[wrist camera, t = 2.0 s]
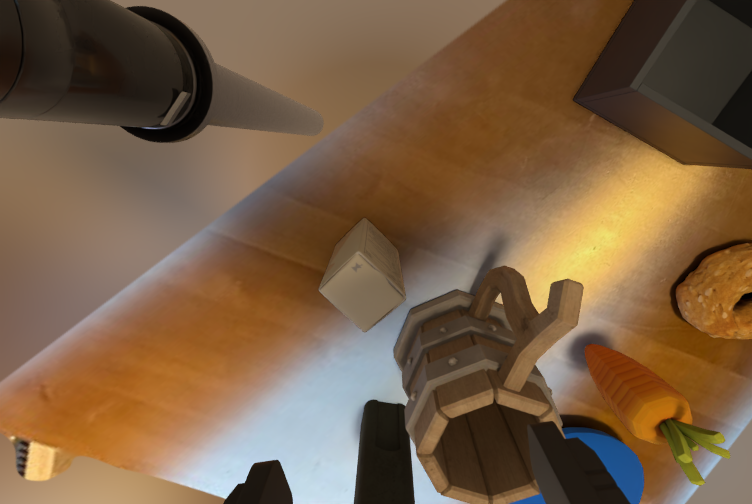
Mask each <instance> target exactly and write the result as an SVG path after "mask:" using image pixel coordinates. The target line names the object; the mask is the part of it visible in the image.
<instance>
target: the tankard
mask: <svg viewBox="0 0 752 504" xmlns="http://www.w3.org/2000/svg"><path fill="white" fill-rule="evenodd" d="M583 288H584V287H583V285H582V284H581V283H579V282H576V281H573V280H570V279H565V280H561V281H557V282H554V283H552V284H551V287H550V293H549V299H548V305H547V308H546V309H545V310H544V311H543V312H541V313H540V314H539V313H538V312H537V310H536V309H535V307H534V306H533V304H532V302H531V299H530V295H529V292H528V289H527V285H526V282H525V279H524V277H523V276H522V275H521V274H520V273H518V272H517V271H516V270H515V269H513V268H510V267H507V266H501V267H498V268H494V269H491V270H489V271H488V273H487V275H486V276H485V278H484V280H483V282H482V284H481V285H480V287H479V289H478V291H477V293H476V296H473V295H470V294H467V293H464V292H462V291H459V290H456V291H453V292H451V293H449V294H446V295H444V296H441V297H439V298H437V299H434V300H432V301H430V302H427V303H425V304H422V305H420V306H418V307H415V308H413V309H411V310H410V312H409V314H408V317H407V319H406V322H405V324H404V326H403V329H402V331H401V334H400V336H399V338H398V341H397V343H396V346H395V348H394V358H395V360H396V362H397V364H398V366H399V368H400V370H401V371H402V383H403V389H404V391H405V393H406V394H407V396H408V398H409V400H408V403H407V405H406V407H405V409H404V412H405V427H406V430H407V432H408V434H409V435H410V437H411V439H412V441H413V442H414V444H415V446H416V453H417V457H418V459H419V461H420V462H421V464H422V466H423V468H424V469H425V471H426V473H427V475H428V476H429V478H430V480H431V482H432V484H433V485H434V487H435V489H436V491H437V492H439V493H441V495H443V496H446V497H450V498H453V499H457V500H460V501H463V502H467V503H470V504H489V503H490V504H509V503H512V502H516V501H519V500H522V499H525V498H528V497H531V496H535V495H538V494H540V490H539V487H538V485H537V482H536V479H535V476H534V473H533V470H532V465H531V459H530V450H529V440H528V431H527V425H528V424H533V423H540V422H546V421H553V422H554V423H555V424H556V425H557V427H558V429H559V430H560V432H561V434H562V435H563V437H564V439H566V438H565V436H564V433H563V431H562V429H561V426H562V425H563V423H562V421H561V419H560V416H559V414H558V411H557V409H556V406H555V404H554V401H553V399H552V397H551V395H552V390H551V389H550V388H549V387H547V384H546V382H545V379H544V377H543V376H542V374H541V373H540V371H539V370H538V368H537V367H536V365H535V363H536V362H537V360H538V359H539V358H540V357H541V356H542V355H543V354H544V353H545V352H546V351H547V350H548V349H549V348H550V347H551V346H552V345H553V344H554V343H555V342H557V341H558V340H559V339H561V338H562V337H563V336H564V335H566V334H567V333H568V332H569V331H571V330H572V329H573V328H574V327H576V326H577V324H578V318H579V312H580V306H581V300H582V294H583ZM500 292H501V296H502V300H503V305H504V306H503V305H500V304H497V303H494V302H495V299H496V298H497V296H498V295H499V294H500Z"/></svg>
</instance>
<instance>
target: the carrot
mask: <svg viewBox="0 0 752 504" xmlns="http://www.w3.org/2000/svg"><path fill="white" fill-rule="evenodd" d="M585 358H586V361H587V365H588V368H589V371H590V374H591V376H592V378H593V380H594V382H595V384H596V386H597V388H598V390H599V391H600V393H601V395H602V396H603V398H604V400H605V401H606V402H607V404H608V405H609V406H610V408H611V409H612V410H613V412H614V413H615V414H616V415H617V417H618V418H619V419H620V420H621V422H622V423H623V424H624V425H625V427H626V428H627V429H628V430H629V432H630V433H632V434H633V435H634V436H636V437H637V438H640V439H643V440H646V441H648V442H651V443H654V444H664V443H667V442H668V443H669V445H670V447H671V450H672V452H673V455H674V458H675V460H676V462H677V463H679V464H680V466H681V467H682V469H683V471H684V472H685V474H686V475H687V477H688V478H689V480H690V482H691V483H692V484H696V485H699V486H700V485H702V484H704V483H705V482H704V480H703V478H702V477H701V475H700V473H699V472H698V470H697V468H696V467H695V465H694V464H693V462H692V460H693V459H692V455H691V452H690V449H689V448H691V449H692V450H693V451H697V450H698V449H699V447H698V445H697V444H695V443H694V442H696V443H698V444H699V445H701V446H702V447H704V448H706V449H707V450H709V451H711V452H713V453H715V454H717V455H720V456H722V457H725V458H728V459H729V458H730V453H729V451H727V450H725V449H723V448H720V447H718V446H715V445H713V444H720V443H723V442H724V441H725V438H724V436H723V435H722V434H721V433H720V432H716V431H710V430H706V429H702V428H699V427H696V426H693V425H692V422H693V420H692V415H691V411H690V407H689V403H688V402H687V400H686V399H685V398H684V397H683V395H681V394H680V393H679V392H678V391H676V390H675V389H674V388H673V387H671V386H670V385H669V384H668V383H666V382H665V381H664V380H663V379H661V378H660V377H659V376H657V375H656V374H655V373H653V372H652V371H651V370H649V369H648V368H647V367H645V366H643V365H642V364H640V363H638V362H637V361H635V360H633V359H631V358H629V357H628V356H626V355H624V354H622V353H620V352H617V351H615V350H612V349H609V348H606V347H604V346H601V345H596V344H589V345H587V346H586V347H585ZM686 436H687V437H686ZM689 438H690V439H691V440H693V441H694V442H693V441H691V440H690V439H689ZM711 443H713V444H711Z"/></svg>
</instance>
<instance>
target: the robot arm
mask: <svg viewBox="0 0 752 504" xmlns="http://www.w3.org/2000/svg"><path fill="white" fill-rule="evenodd" d="M198 95H199V76H198V71H197V67H196V64H195V62H194V59H193V57H192V55H191V53H190V52H189V50H188V49H187V47H186V46H185V44H184V43H183V42H182V41H181V40H180V39H179V38H178V37H177V36H176V35H175V34H174V33H172V32H171V31H169V30H168V29H166V28H164V27H163V26H161V25H159V24H157V23H154V22H152V21H149V20H146V19H144V18H143V17H141V16H139V15H137V14H135V13H133V12H132V11H130V10H128V9H126V8H124V7H122V6H120V5H118V4H116V3H114V2H112V1H110V0H0V118H10V119H28V120H43V121H59V122H72V123H87V124H102V125H117V126H130V127H142V128H147V129H168V128H172V127H175V126H177V125H179V124H180V123H182V122H183V121H184V120H186V119H187V118H188V116H189V115H190V114H191V113H192V111H193V109H194V107H195V105H196V103H197V99H198ZM527 431H528V440H529V450H530V459H531V465H532V470H533V473H534V476H535V479H536V482H537V485H538V487H539V489H540V492H541V494H542V496H543V498H544V501H545V503H546V504H630V502H629V501H628V499H627V498H626V496H625V495H624V493H623V492H622V490H621V489H620V488H619V487H618V486H617V483H616V482H615V480H614V479H613V477H612V476H611V474H610V473H609V472H608V471H607V468H606V467H605V465H604V464H603V462H602V461H601V460H600V458H599V457H598V455H597V454H596V452H595V451H594V450H593V449H592V448H590V447H589V446H588V445H587V444H585V443H584V442H583V441H581V440H580V439H579V438H578V437H576V438H569V439H564V437H563V435H562V434H561V432H560V430H559V429H558V427H557V425H556V424H555V423H554V422H553V421H546V422H540V423H533V424H528V425H527ZM224 504H293V498H292V493H291V490H290V488H289V485H288V482H287V480H286V477H285V474H284V471H283V469H282V466H281V464H280V462H279V461H278V460H273V461H266V462H259V463H255V464H253V466H252V467H251V469H250V472H249V474H248V476H247V479H246V481H245V483H242V484H238V485H237V486H236V487H235V489H234V490H233V491H232V492H231V494H230V495H229V496H228V497H227V499H226V500H225V501H224Z"/></svg>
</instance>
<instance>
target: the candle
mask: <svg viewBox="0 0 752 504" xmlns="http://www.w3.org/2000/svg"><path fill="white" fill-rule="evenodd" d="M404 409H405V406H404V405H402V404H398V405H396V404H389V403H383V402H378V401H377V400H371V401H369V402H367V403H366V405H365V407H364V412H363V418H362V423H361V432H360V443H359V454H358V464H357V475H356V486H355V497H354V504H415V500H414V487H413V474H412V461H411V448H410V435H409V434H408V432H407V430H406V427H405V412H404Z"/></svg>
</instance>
